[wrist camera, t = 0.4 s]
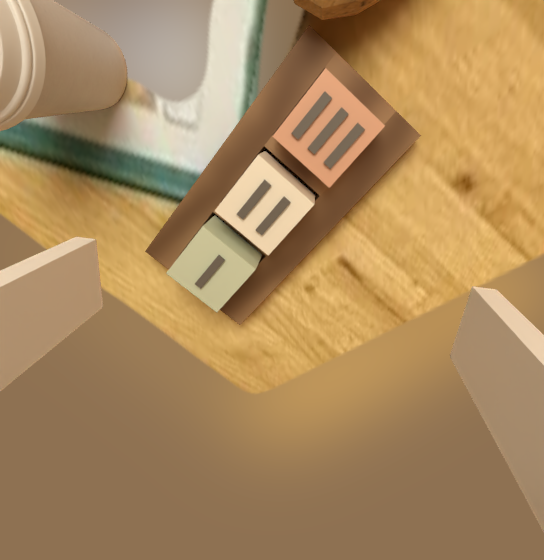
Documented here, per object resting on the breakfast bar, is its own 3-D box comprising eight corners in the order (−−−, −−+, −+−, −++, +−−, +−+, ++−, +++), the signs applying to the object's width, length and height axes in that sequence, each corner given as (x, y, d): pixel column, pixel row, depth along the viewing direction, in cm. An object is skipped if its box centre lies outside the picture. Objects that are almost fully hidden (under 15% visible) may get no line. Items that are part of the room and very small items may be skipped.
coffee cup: (164, 97, 33) (54, 81, 19) (81, 145, 36) (-68, 161, 22) (104, -22, 30) (-76, -139, 17) (18, 40, 33) (-199, -18, 19)
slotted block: (181, 258, 37) (164, 274, 33) (214, 215, 35) (201, 226, 31) (226, 294, 38) (216, 314, 34) (262, 254, 36) (255, 270, 32)
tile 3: (277, 134, 32) (271, 136, 28) (325, 74, 30) (325, 67, 26) (328, 180, 33) (329, 188, 29) (377, 125, 31) (385, 125, 27)
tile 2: (225, 201, 35) (213, 211, 31) (265, 150, 32) (257, 155, 29) (273, 241, 36) (267, 256, 32) (315, 195, 33) (314, 205, 29)
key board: (153, 245, 39) (145, 251, 37) (309, 30, 30) (309, 25, 28) (243, 315, 41) (239, 325, 39) (415, 134, 32) (420, 135, 30)
